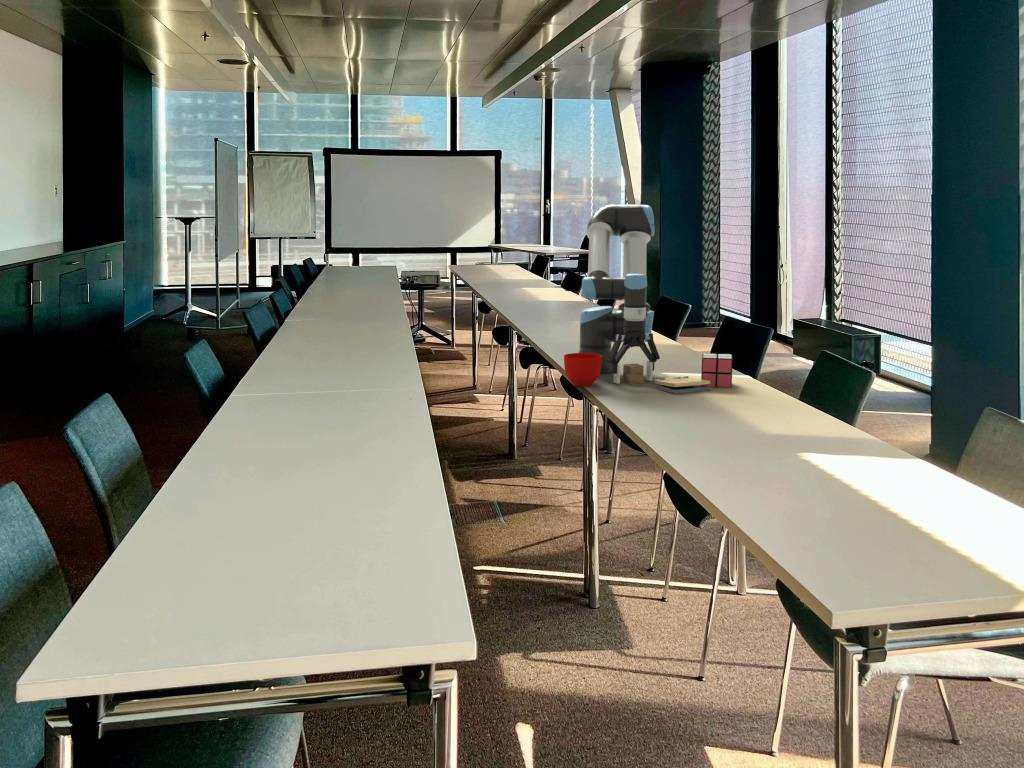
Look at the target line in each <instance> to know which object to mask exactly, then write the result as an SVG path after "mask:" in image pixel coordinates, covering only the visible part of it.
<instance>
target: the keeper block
mask: <svg viewBox="0 0 1024 768" xmlns="http://www.w3.org/2000/svg"><path fill="white" fill-rule="evenodd" d="M622 367H623V369H622V371H623V372H622V382H623V383H626V384H629V385H633V384H643V383H644V368H645V367H644V365H643V364H639V363H624V364H623V365H622Z"/></svg>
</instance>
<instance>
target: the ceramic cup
mask: <svg viewBox="0 0 1024 768" xmlns="http://www.w3.org/2000/svg"><path fill="white" fill-rule="evenodd" d="M563 364H564V372H565V375H566V377H567V379H568V380H569V382H570V383H571V384H572V386H574V387H584V388H585V387H586V388H587V387H591V386H593V385H594V384H595V382H596V381H597V380H598V379H599V376H600V375H601V373H600V372H601V367H602V355H599V354H593V353H579V352H572V353H571V352H570V353H567V354H564V355H563Z"/></svg>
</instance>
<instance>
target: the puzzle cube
mask: <svg viewBox="0 0 1024 768" xmlns="http://www.w3.org/2000/svg"><path fill="white" fill-rule="evenodd" d="M700 379H703V380H710V384H703V385H705V386H709V387H710V388H719V389H721V388H722V389H731V388H732V384H733V355H732V354H730V353H718V354H717V353H702V355H701V376H700Z"/></svg>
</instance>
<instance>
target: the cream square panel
mask: <svg viewBox="0 0 1024 768" xmlns="http://www.w3.org/2000/svg"><path fill="white" fill-rule="evenodd" d="M678 377H679V376H678ZM678 377H674V376H673V377H665V378H663V379H664V380H658V381H656V384H659V385H665V386H671V387H681V386H692V385H703V384H710V380H703V379H701V378H695V377H689V378H680V379H679V378H678Z"/></svg>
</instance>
